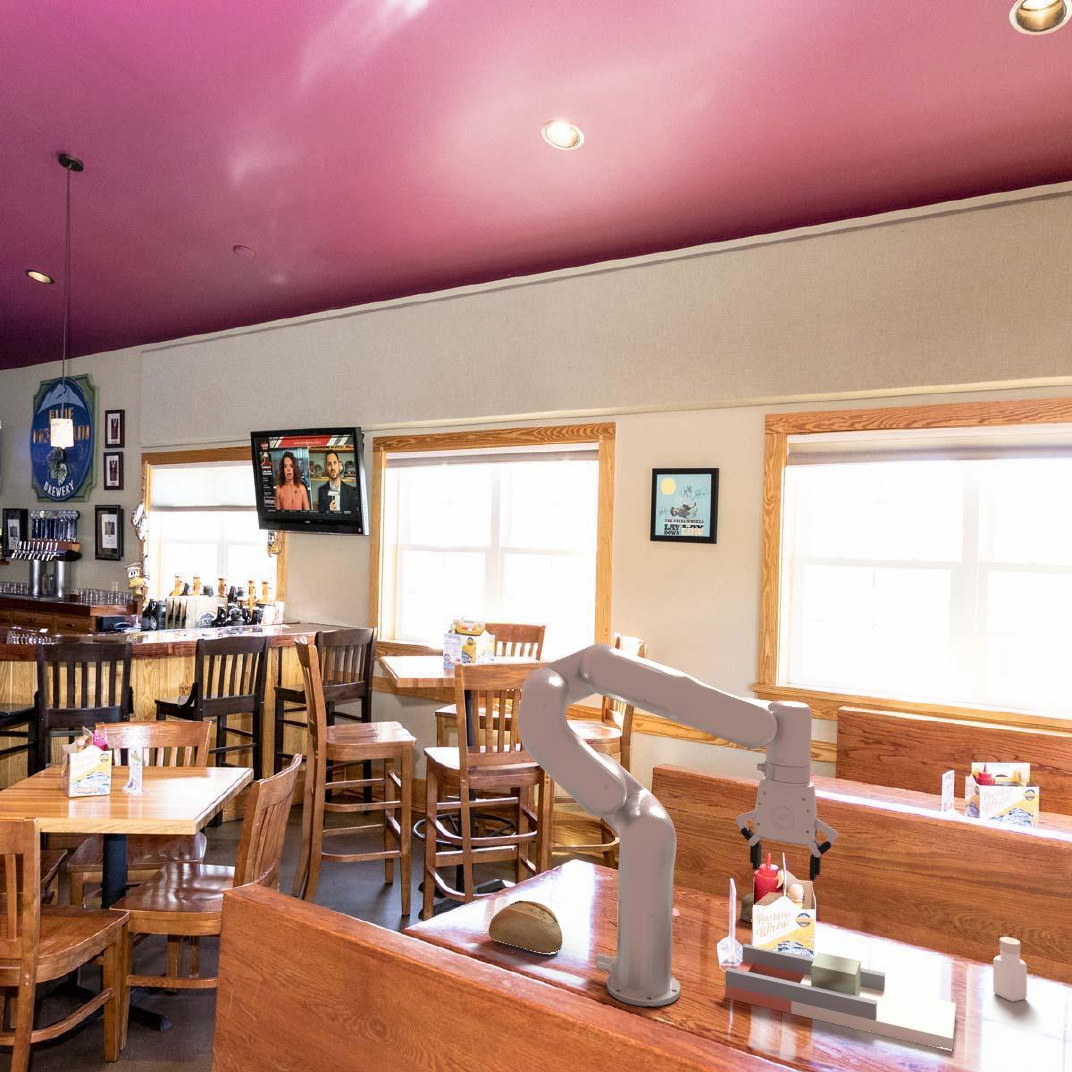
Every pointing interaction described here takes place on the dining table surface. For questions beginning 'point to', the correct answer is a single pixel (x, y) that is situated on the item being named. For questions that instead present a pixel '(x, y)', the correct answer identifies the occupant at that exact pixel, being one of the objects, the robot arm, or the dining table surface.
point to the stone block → (747, 907)
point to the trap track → (839, 999)
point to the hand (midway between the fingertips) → (784, 873)
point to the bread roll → (527, 927)
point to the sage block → (836, 974)
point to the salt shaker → (1010, 971)
